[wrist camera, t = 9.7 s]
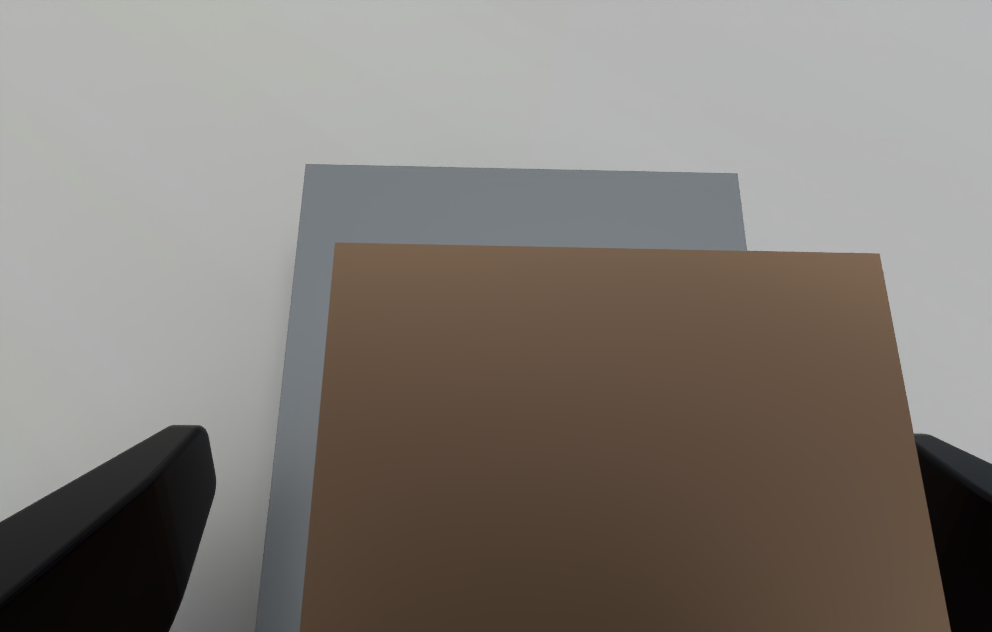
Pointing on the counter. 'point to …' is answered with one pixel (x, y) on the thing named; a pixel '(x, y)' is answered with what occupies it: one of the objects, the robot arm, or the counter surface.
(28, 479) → the counter surface
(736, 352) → the walnut peg
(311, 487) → the grey socket block
